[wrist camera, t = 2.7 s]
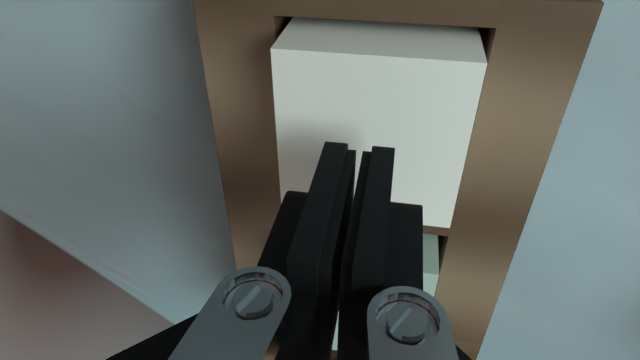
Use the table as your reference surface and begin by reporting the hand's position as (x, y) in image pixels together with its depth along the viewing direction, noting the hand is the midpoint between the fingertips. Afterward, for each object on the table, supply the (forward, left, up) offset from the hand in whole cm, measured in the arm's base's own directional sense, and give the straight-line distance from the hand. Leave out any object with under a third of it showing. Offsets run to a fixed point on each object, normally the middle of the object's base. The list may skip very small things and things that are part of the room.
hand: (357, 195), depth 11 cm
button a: (-1, 0, -4) cm, 4 cm away
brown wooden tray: (+6, 0, -7) cm, 9 cm away
